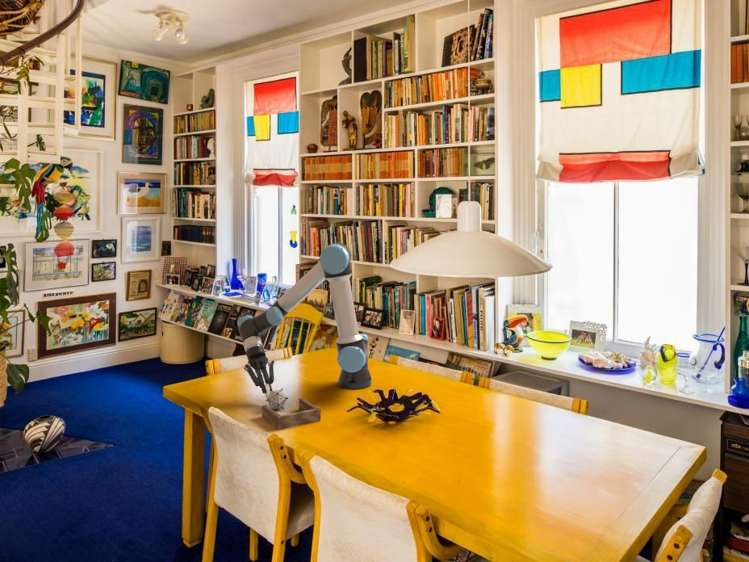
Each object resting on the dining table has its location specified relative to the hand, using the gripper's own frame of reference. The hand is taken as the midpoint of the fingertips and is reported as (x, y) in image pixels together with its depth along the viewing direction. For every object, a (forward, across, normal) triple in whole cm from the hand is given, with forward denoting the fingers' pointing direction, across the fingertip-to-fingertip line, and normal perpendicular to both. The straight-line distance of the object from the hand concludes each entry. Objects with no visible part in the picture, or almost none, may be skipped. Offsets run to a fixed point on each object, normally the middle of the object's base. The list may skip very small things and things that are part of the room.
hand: (270, 399), depth 238 cm
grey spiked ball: (+5, -1, +1) cm, 5 cm away
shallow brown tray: (+14, -2, +10) cm, 17 cm away
